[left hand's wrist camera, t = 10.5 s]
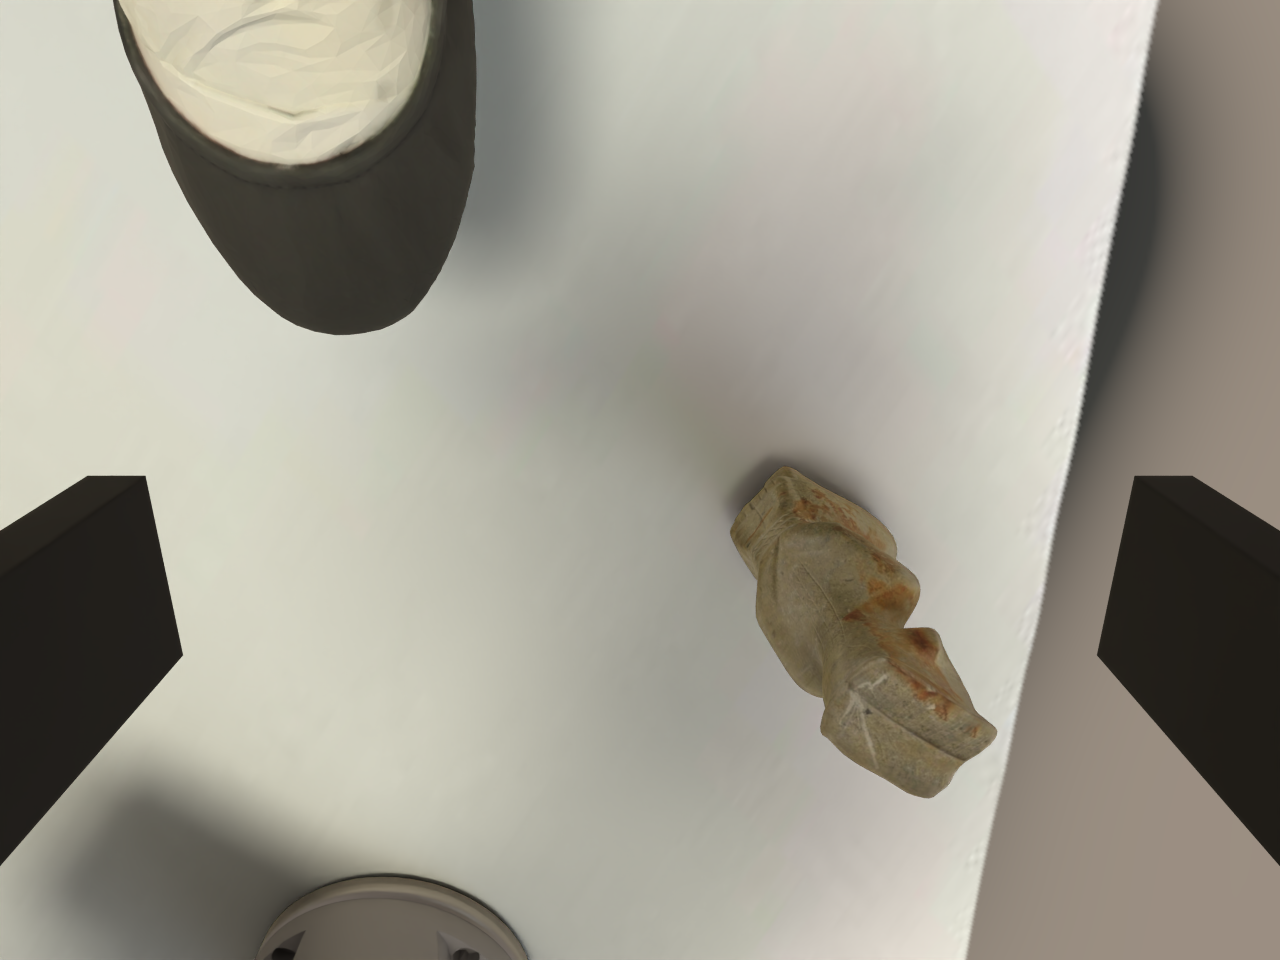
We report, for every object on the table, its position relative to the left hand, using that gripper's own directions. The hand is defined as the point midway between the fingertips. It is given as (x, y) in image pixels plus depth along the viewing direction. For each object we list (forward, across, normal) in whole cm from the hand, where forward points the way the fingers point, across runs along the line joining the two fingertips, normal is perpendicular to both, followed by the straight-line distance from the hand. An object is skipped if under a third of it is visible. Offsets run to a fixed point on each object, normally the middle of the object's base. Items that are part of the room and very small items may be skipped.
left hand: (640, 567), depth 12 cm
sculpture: (+26, -7, +11) cm, 30 cm away
